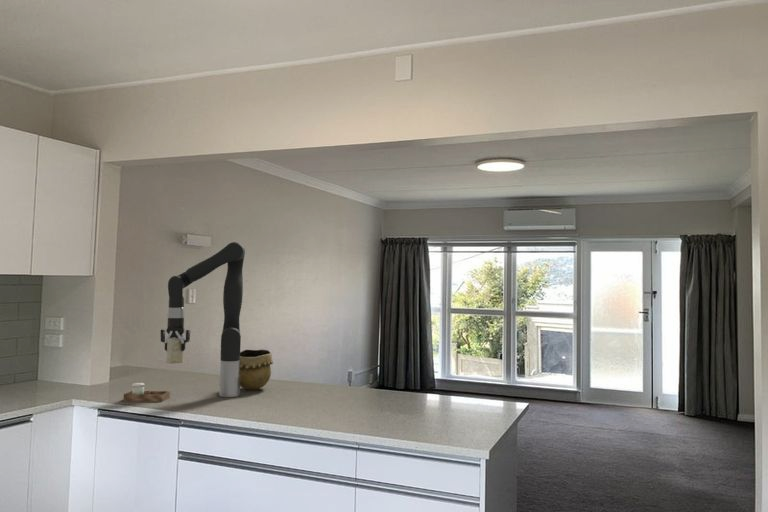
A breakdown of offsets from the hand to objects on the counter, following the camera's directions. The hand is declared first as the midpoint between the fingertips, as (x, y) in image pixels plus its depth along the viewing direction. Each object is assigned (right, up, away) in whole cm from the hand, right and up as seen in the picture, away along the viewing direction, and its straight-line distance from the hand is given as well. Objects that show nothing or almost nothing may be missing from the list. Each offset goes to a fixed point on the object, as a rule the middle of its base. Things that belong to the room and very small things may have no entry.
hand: (174, 351), depth 279 cm
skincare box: (0, -6, 0) cm, 6 cm away
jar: (-13, -20, -12) cm, 27 cm away
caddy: (-8, -21, -13) cm, 26 cm away
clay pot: (+33, -24, +20) cm, 45 cm away
